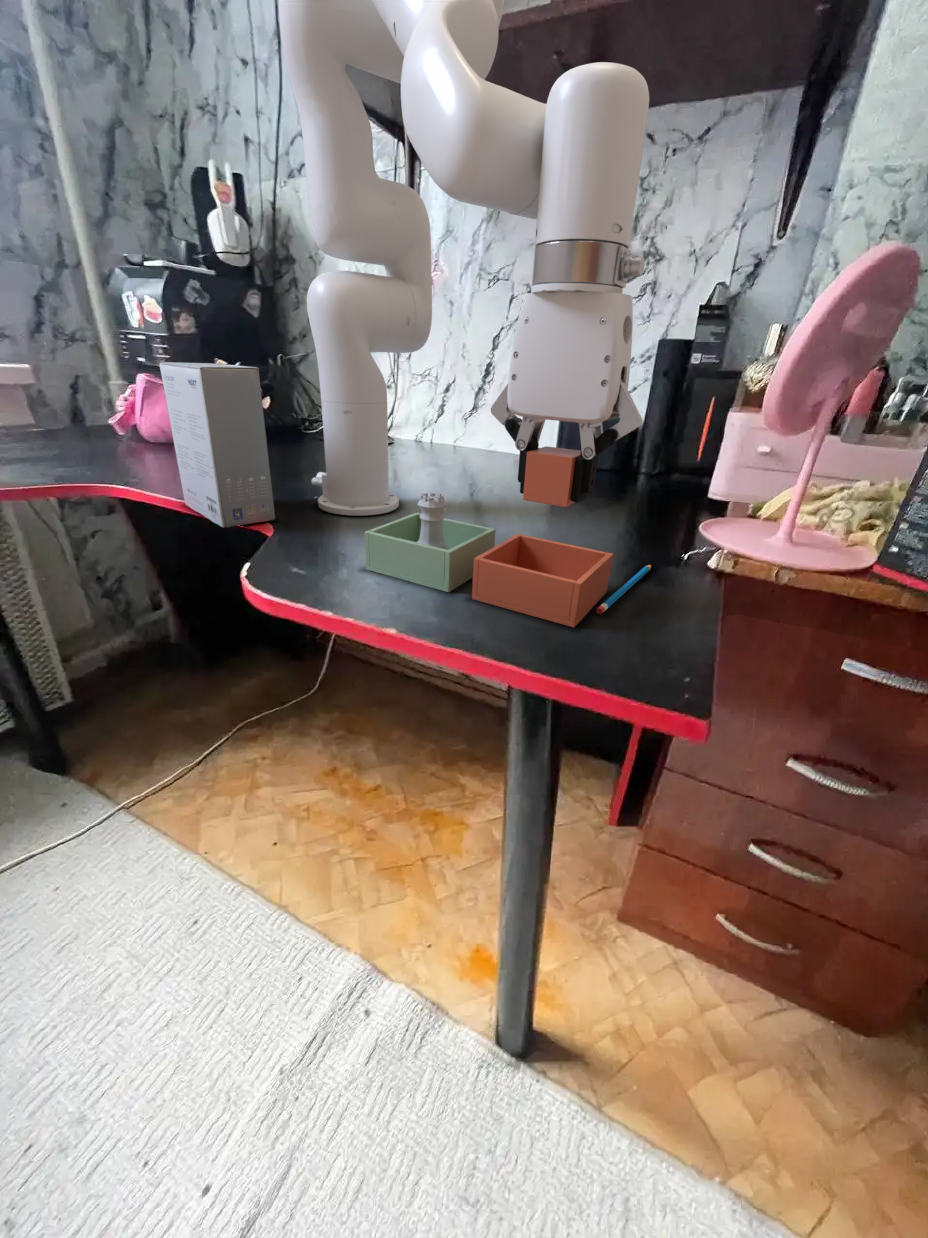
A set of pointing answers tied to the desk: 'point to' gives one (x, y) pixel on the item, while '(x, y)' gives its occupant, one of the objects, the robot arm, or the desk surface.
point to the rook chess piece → (432, 520)
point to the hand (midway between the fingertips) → (553, 493)
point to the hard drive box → (220, 440)
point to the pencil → (622, 590)
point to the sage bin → (427, 552)
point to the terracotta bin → (542, 578)
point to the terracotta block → (550, 475)
